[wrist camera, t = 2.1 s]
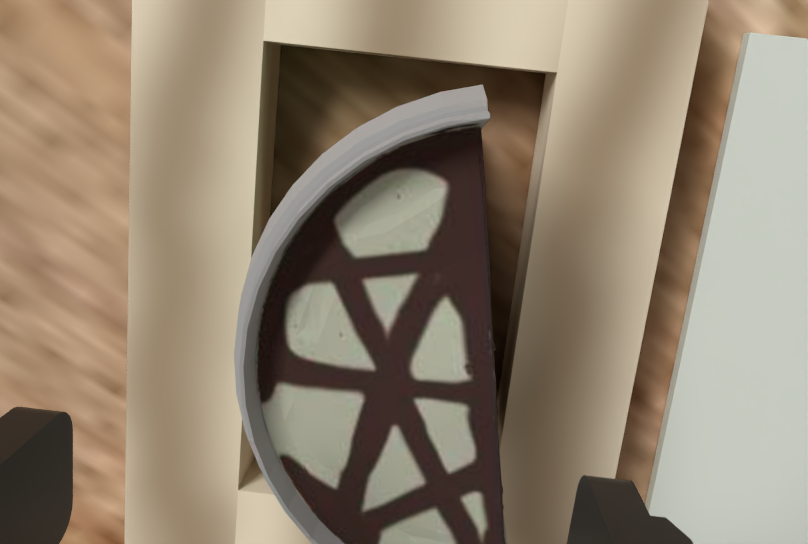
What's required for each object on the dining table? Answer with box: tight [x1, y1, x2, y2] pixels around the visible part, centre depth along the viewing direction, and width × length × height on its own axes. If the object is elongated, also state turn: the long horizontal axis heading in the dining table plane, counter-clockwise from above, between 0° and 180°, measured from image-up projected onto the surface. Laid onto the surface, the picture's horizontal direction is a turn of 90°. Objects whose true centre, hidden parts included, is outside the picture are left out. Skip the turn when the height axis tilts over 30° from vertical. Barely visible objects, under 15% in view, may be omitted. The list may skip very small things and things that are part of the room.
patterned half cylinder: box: [234, 84, 508, 544], centre depth 21 cm, size 12×6×10 cm, turn 5°
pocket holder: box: [125, 0, 709, 544], centre depth 24 cm, size 16×20×2 cm
